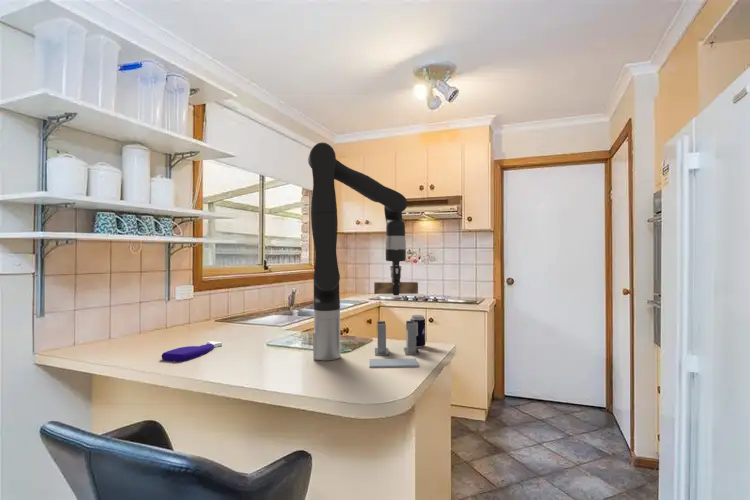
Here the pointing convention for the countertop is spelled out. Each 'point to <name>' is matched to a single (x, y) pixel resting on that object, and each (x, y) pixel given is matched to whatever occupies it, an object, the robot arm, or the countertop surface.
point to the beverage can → (419, 330)
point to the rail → (388, 288)
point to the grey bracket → (411, 339)
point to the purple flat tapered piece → (189, 352)
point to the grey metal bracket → (381, 339)
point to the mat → (393, 363)
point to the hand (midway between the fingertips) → (395, 294)
